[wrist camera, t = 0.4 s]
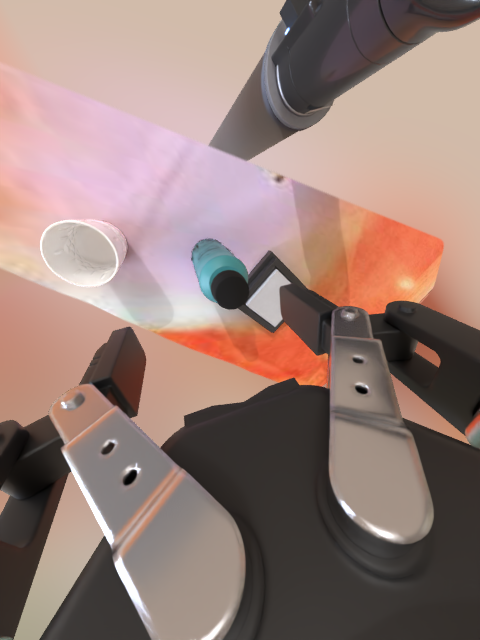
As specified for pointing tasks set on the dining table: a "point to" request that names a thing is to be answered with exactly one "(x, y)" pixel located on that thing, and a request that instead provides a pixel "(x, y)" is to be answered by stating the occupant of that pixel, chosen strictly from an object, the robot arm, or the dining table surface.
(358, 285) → the dining table surface
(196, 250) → the beverage bottle
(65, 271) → the white cup
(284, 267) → the scale
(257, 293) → the pan
